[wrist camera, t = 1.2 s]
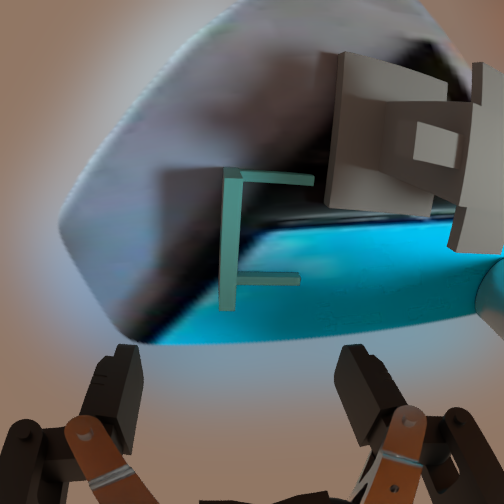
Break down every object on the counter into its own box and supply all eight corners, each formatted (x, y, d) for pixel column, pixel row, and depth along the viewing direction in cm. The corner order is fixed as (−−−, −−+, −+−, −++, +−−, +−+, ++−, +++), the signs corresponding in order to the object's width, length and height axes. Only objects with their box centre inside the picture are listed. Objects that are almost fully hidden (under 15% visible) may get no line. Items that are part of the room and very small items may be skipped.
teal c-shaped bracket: (311, 172, 26) (331, 185, 21) (297, 281, 30) (310, 310, 25) (223, 167, 25) (224, 178, 20) (218, 279, 29) (218, 310, 24)
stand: (438, 83, 23) (533, 84, 12) (421, 212, 28) (504, 263, 17) (338, 54, 22) (419, 20, 11) (323, 203, 27) (390, 262, 16)
